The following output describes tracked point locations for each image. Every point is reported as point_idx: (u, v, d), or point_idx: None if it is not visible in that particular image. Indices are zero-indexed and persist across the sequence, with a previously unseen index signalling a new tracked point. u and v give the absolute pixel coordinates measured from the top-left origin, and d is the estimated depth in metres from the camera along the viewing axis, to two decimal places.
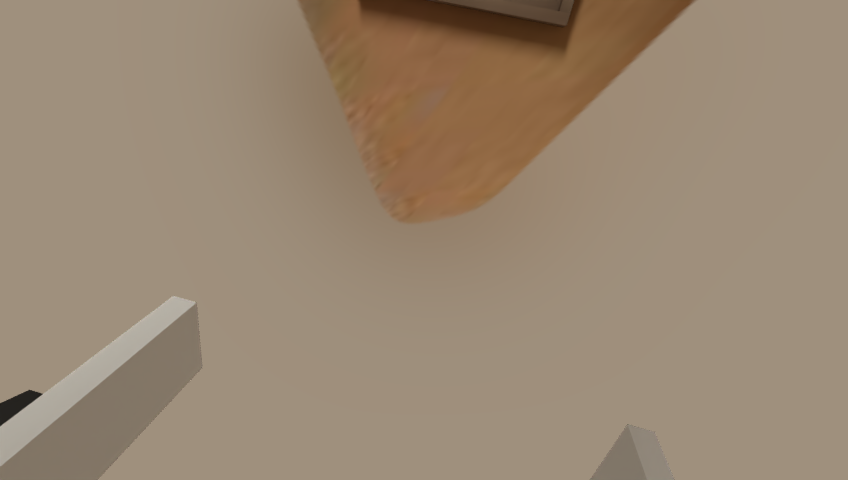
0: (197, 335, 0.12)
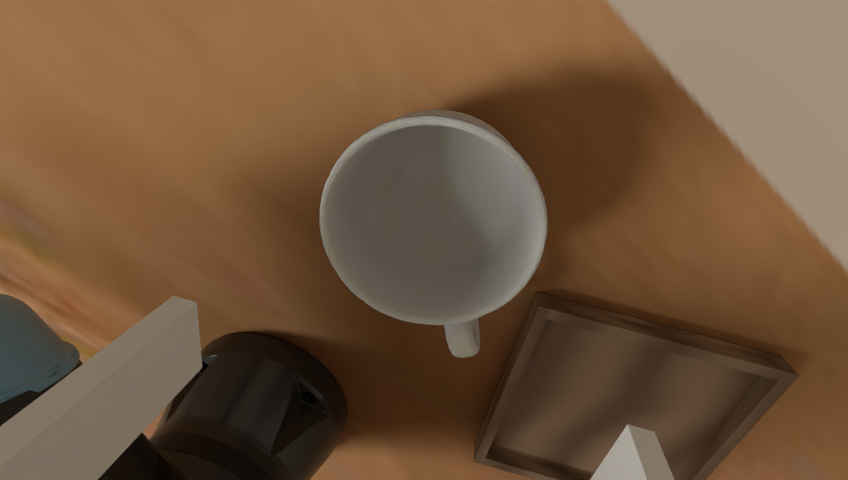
0: (197, 335, 0.12)
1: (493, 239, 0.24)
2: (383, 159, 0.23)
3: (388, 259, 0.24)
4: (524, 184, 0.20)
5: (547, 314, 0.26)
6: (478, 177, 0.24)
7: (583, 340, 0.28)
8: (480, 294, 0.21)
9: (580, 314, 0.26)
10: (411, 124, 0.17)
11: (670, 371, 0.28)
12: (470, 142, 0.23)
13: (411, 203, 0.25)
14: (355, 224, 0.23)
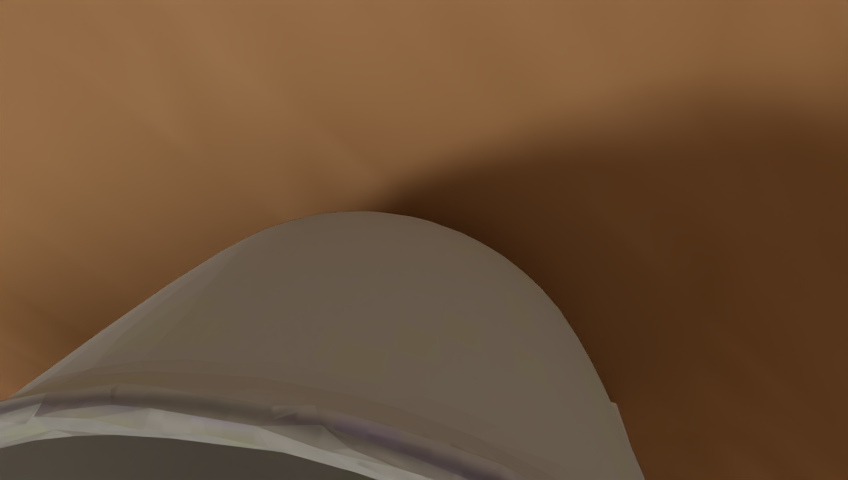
0: None
1: None
2: None
3: None
4: None
5: None
6: None
7: None
8: None
9: None
10: (109, 433, 0.03)
11: None
12: None
13: None
14: (170, 474, 0.09)
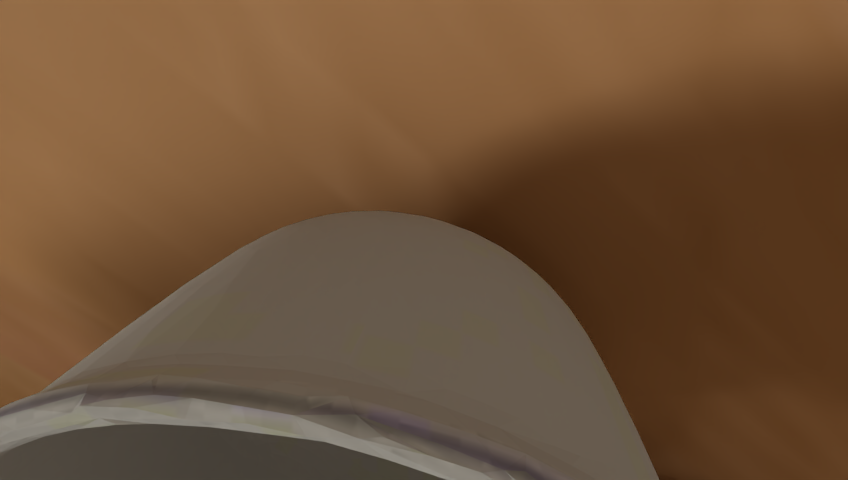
0: None
1: None
2: None
3: None
4: None
5: None
6: None
7: None
8: None
9: None
10: (150, 422, 0.03)
11: None
12: None
13: None
14: (184, 469, 0.09)
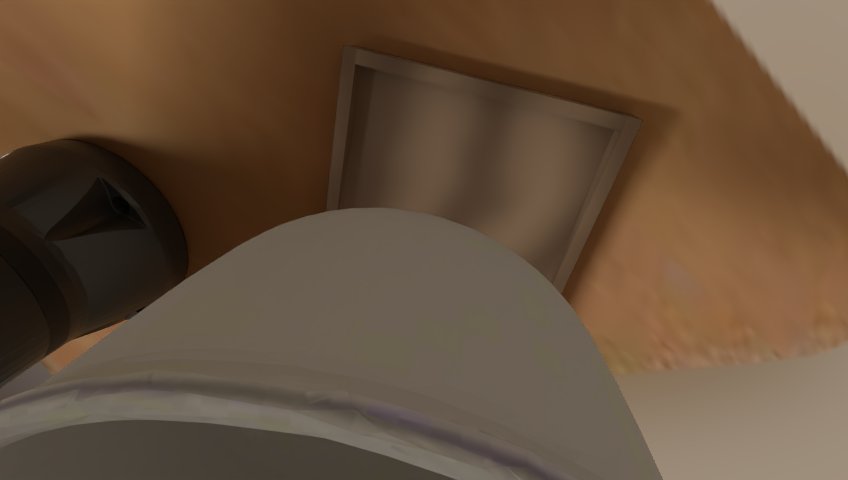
0: None
1: None
2: None
3: None
4: None
5: (354, 56, 0.22)
6: None
7: (411, 107, 0.24)
8: None
9: (394, 57, 0.22)
10: (146, 418, 0.03)
11: (511, 144, 0.24)
12: None
13: None
14: (183, 467, 0.09)
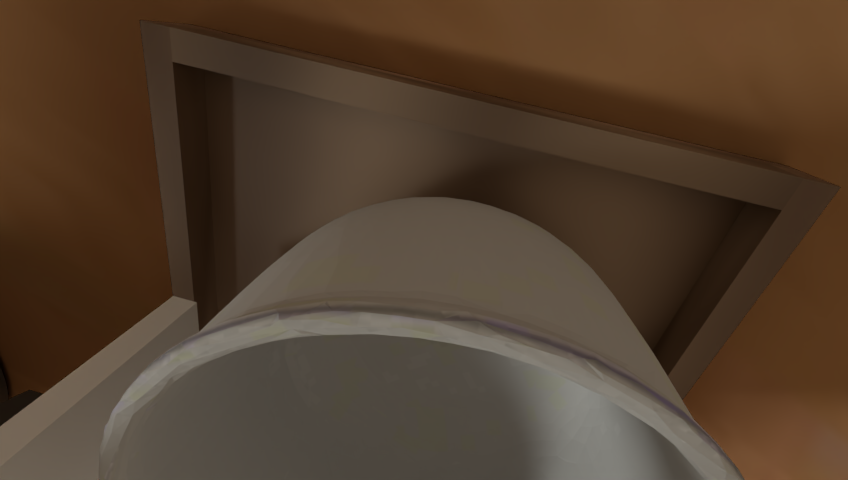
0: None
1: (544, 429, 0.12)
2: None
3: (336, 469, 0.12)
4: None
5: (168, 45, 0.10)
6: None
7: (314, 150, 0.12)
8: None
9: (256, 46, 0.10)
10: (324, 333, 0.05)
11: None
12: None
13: (384, 349, 0.13)
14: (260, 425, 0.11)
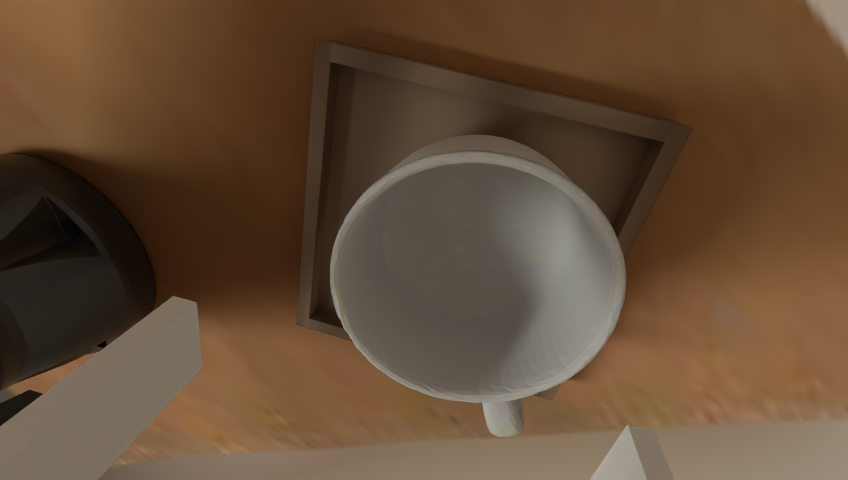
0: (197, 335, 0.12)
1: (537, 286, 0.20)
2: (406, 191, 0.20)
3: (410, 309, 0.20)
4: (586, 229, 0.16)
5: (329, 52, 0.18)
6: (520, 212, 0.20)
7: (400, 114, 0.20)
8: (527, 361, 0.17)
9: (377, 53, 0.18)
10: (450, 162, 0.13)
11: None
12: (512, 172, 0.19)
13: (438, 241, 0.21)
14: (373, 271, 0.19)
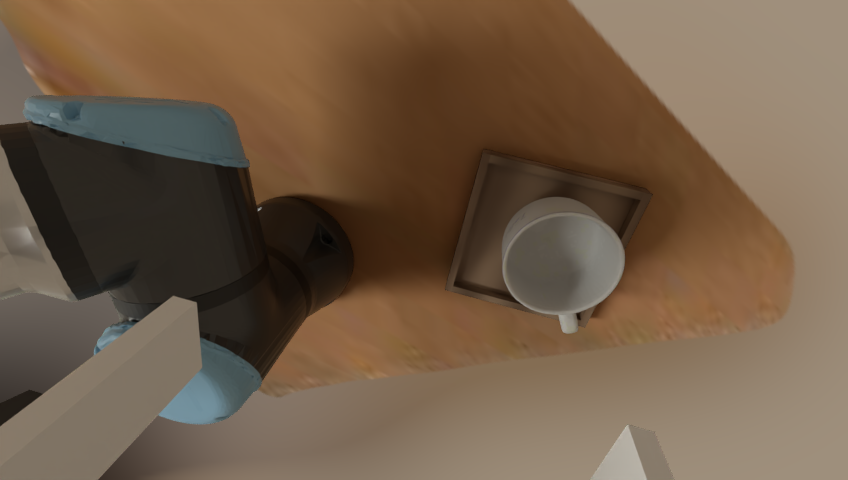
0: (197, 335, 0.12)
1: (581, 265, 0.42)
2: None
3: (520, 277, 0.42)
4: (607, 238, 0.37)
5: (488, 158, 0.39)
6: (573, 230, 0.41)
7: (516, 183, 0.41)
8: (581, 297, 0.38)
9: (511, 158, 0.39)
10: (560, 215, 0.34)
11: None
12: None
13: (531, 244, 0.42)
14: None
